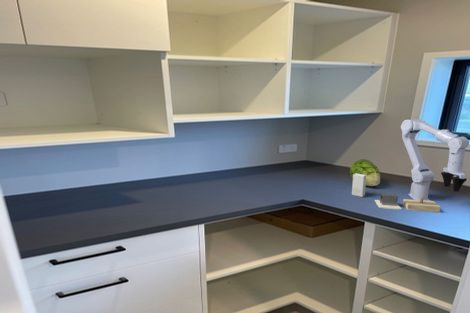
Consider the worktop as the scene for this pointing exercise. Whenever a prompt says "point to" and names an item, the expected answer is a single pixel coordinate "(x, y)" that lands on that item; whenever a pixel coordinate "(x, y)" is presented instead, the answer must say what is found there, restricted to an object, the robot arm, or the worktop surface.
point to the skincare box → (359, 185)
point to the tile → (387, 205)
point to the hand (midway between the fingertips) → (451, 188)
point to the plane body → (421, 205)
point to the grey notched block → (388, 199)
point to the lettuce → (366, 171)
